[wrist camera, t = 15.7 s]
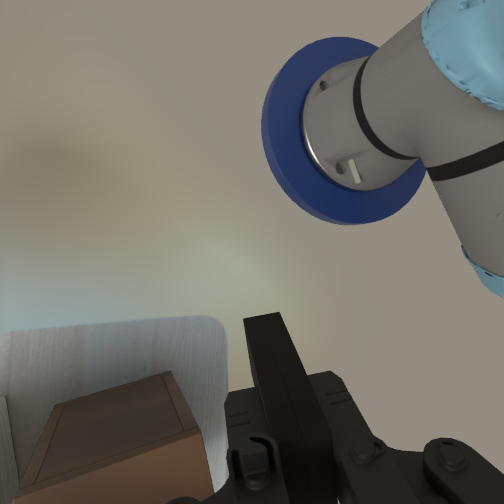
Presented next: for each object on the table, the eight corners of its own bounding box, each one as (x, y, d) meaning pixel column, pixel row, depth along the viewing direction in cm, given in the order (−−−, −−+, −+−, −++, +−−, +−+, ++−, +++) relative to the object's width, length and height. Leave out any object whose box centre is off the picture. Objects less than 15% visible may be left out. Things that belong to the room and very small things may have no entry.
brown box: (186, 445, 42) (226, 549, 26) (72, 486, 38) (43, 634, 23) (170, 370, 41) (201, 432, 26) (54, 405, 38) (11, 499, 23)
